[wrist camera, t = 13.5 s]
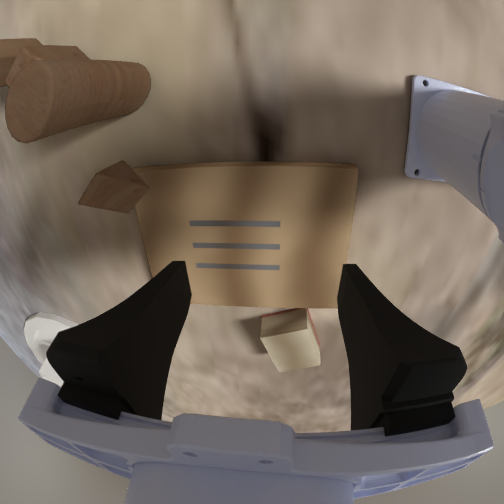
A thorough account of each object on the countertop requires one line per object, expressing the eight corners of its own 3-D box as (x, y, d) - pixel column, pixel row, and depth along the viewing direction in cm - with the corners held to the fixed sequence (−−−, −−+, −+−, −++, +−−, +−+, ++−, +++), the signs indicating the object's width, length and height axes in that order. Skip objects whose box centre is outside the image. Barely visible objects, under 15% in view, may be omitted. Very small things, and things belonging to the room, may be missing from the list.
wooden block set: (25, 80, 17) (-61, 100, 9) (72, 3, 14) (-20, -7, 5) (138, 205, 23) (60, 276, 14) (210, 128, 19) (137, 163, 10)
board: (355, 164, 20) (358, 169, 19) (336, 299, 27) (337, 308, 26) (134, 167, 22) (128, 172, 21) (163, 293, 29) (159, 301, 28)
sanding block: (306, 304, 28) (307, 328, 25) (319, 342, 31) (321, 365, 28) (261, 313, 29) (259, 337, 27) (279, 349, 32) (278, 372, 30)
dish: (26, 283, 32) (-18, 339, 23) (173, 374, 38) (152, 444, 29) (29, 354, 44) (5, 395, 35) (131, 415, 50) (116, 460, 41)
